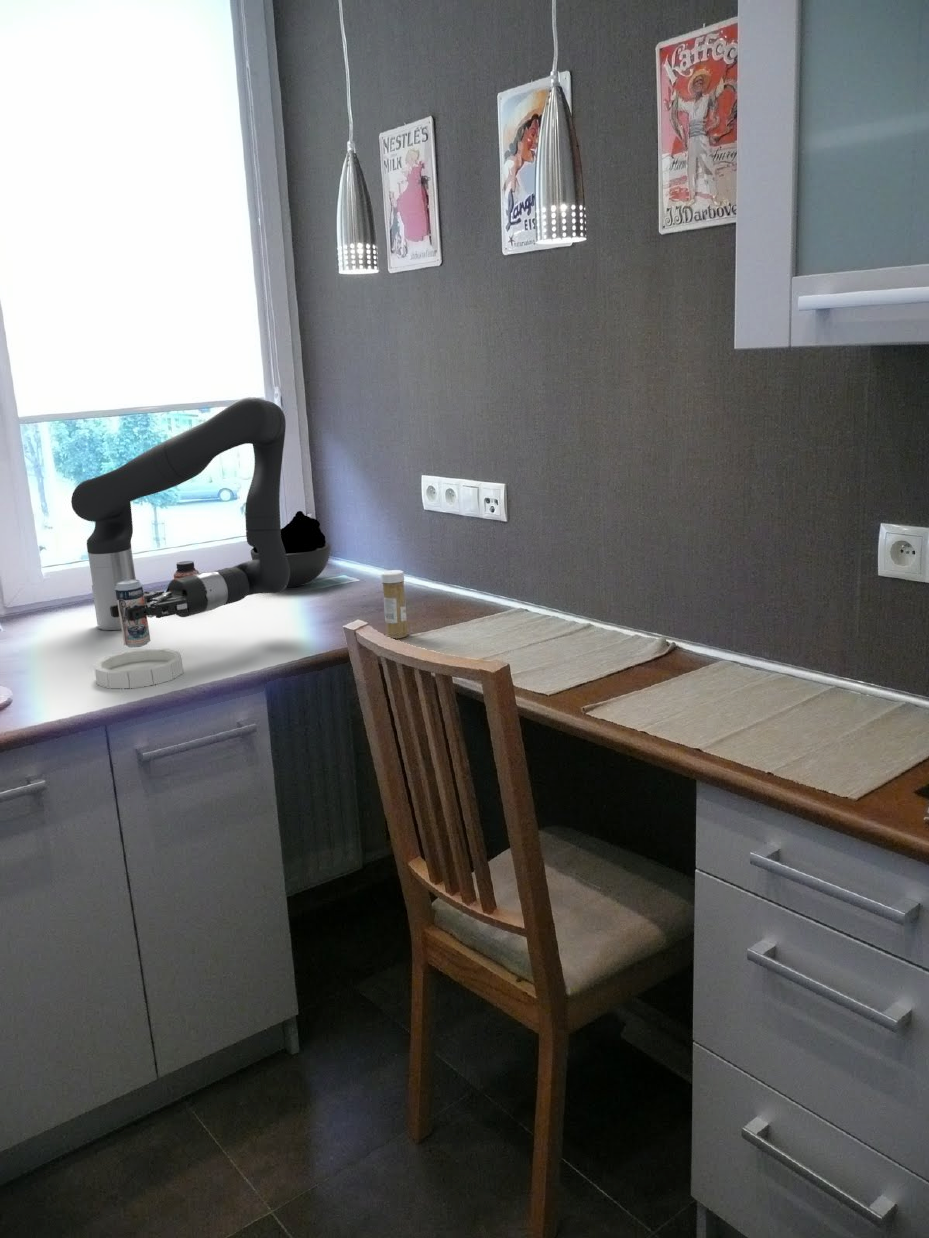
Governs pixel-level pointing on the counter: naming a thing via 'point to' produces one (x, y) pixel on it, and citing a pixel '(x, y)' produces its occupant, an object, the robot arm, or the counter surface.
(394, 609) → the sprinkles bottle
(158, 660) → the white segmented ring
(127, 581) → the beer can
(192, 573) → the supplement bottle
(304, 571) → the coal bowl
